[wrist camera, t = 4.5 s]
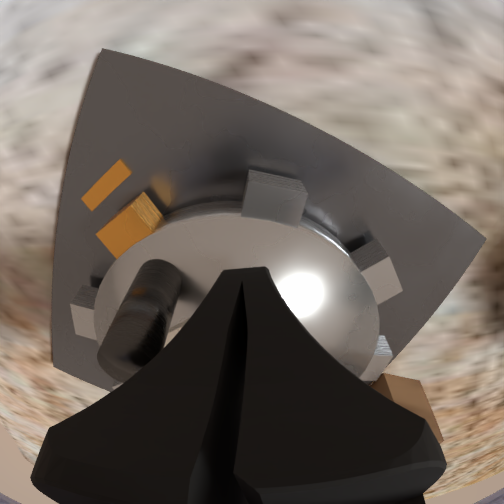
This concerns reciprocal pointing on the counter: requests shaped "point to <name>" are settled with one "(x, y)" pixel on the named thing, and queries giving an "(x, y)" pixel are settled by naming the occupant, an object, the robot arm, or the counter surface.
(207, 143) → the plate
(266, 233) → the sprocket
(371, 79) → the counter surface
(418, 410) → the link block
